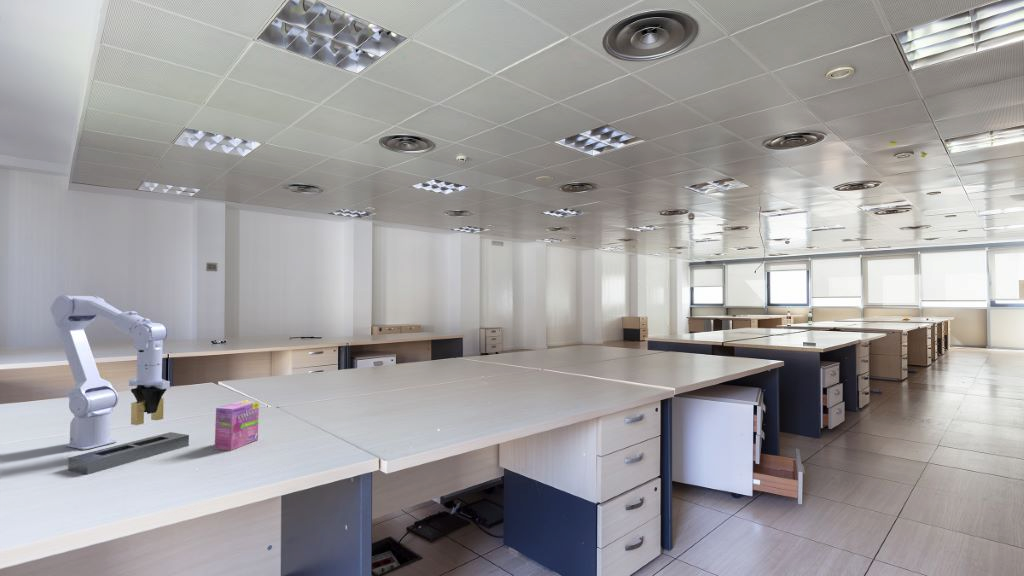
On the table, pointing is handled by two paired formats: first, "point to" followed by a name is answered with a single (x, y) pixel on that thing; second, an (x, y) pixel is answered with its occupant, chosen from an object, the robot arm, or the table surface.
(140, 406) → the clip
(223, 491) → the table surface
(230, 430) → the box
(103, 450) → the block
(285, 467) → the table surface
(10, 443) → the table surface
